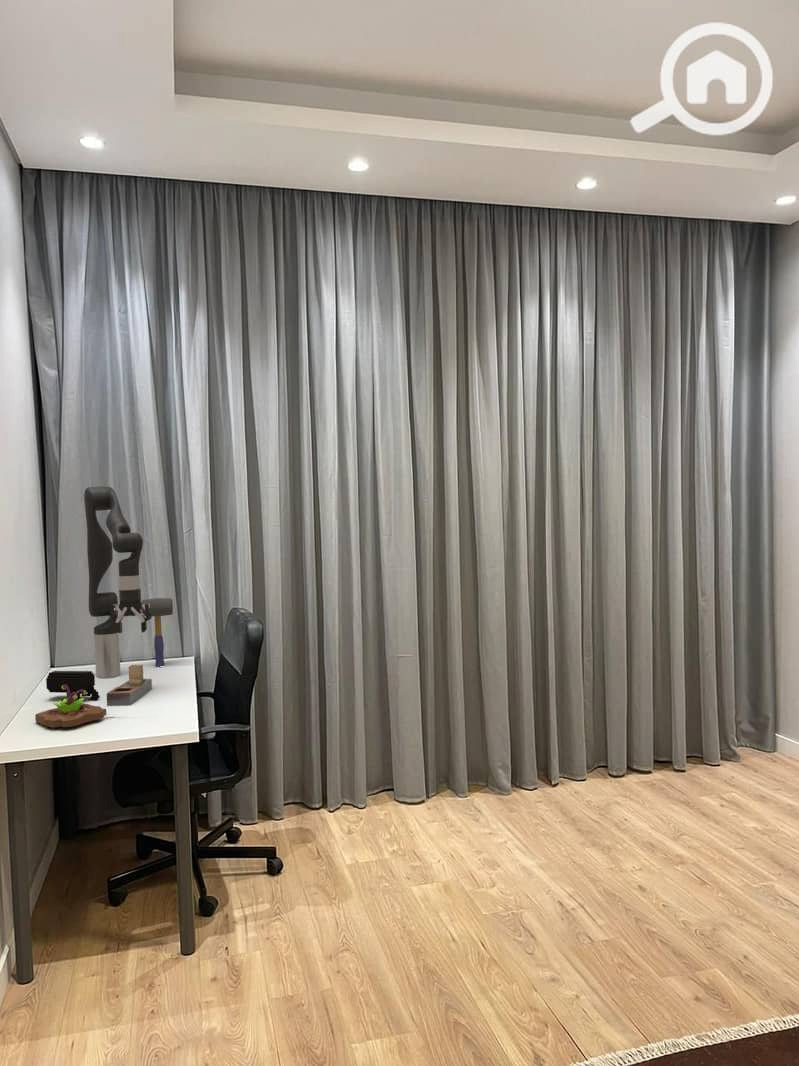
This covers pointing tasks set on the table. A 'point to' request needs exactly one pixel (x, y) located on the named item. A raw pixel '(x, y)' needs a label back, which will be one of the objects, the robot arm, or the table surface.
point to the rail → (128, 693)
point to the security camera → (73, 683)
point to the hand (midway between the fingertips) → (131, 632)
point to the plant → (70, 712)
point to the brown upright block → (136, 674)
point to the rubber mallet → (159, 623)
